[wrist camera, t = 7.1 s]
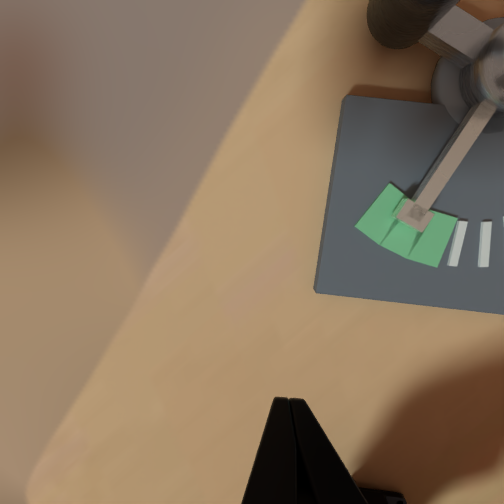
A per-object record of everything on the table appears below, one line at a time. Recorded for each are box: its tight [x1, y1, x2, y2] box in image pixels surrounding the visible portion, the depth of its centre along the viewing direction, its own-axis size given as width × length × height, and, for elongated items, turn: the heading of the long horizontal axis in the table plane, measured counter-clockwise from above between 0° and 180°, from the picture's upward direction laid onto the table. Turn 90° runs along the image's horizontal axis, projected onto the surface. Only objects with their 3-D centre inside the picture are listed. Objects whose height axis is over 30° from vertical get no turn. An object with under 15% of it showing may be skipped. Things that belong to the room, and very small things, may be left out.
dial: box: [367, 0, 504, 232], centre depth 12 cm, size 10×12×8 cm
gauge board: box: [313, 17, 504, 315], centre depth 18 cm, size 17×14×1 cm
